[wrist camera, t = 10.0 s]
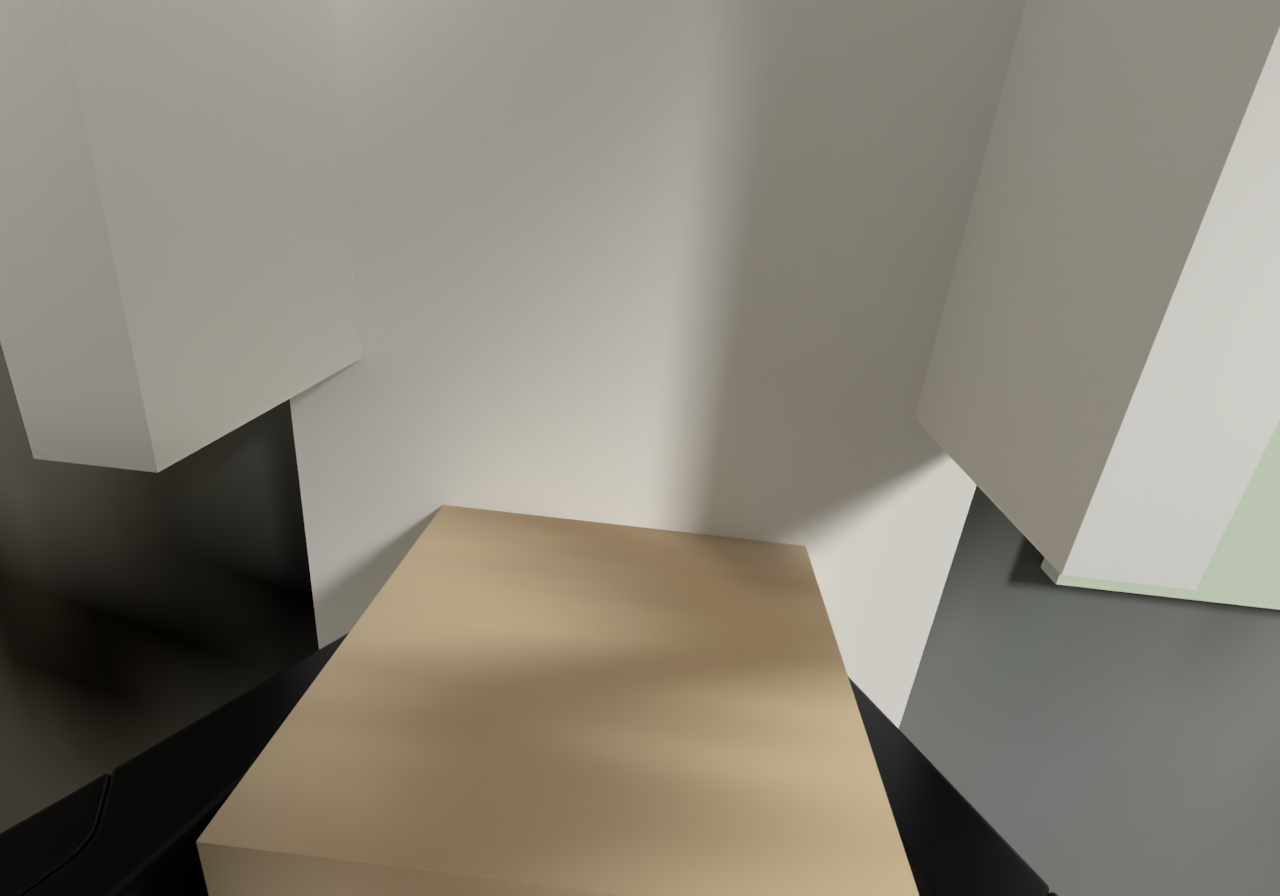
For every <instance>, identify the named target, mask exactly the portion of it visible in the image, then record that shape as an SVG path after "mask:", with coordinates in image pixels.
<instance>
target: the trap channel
mask: <svg viewBox="0 0 1280 896" xmlns="http://www.w3.org/2000/svg"><path fill="white" fill-rule="evenodd" d="M0 342H1V346H2V349H3V353H4V356H5V360H6V363H7V367H8V370H9V374H10V377H11V381H12V384H13V388H14V391H15V395H16V398H17V402H18V405H19V409H20V412H21V416H22V419H23V423H24V426H25V430H26V433H27V437H28V440H29V444H30V447H31V451H32V454H33V458H34V459H41V460H50V461H59V462H68V463H77V464H85V465H94V466H103V467H112V468H121V469H130V470H138V471H147V472H156V473H158V472H160V471H162V470H164V469H165V468H167V467H169V466H171V465H173V464H174V463H176V462H178V461H180V460H181V459H183V458H185V457H187V456H189V455H190V454H192V453H194V452H196V451H197V450H199V449H201V448H203V447H205V446H206V445H208V444H210V443H212V442H213V441H215V440H217V439H219V438H221V437H222V436H224V435H226V434H228V433H229V432H231V431H233V430H235V429H237V428H238V427H240V426H242V425H244V424H245V423H247V422H249V421H251V420H253V419H254V418H256V417H258V416H260V415H262V414H263V413H265V412H267V411H269V410H270V409H272V408H274V407H276V406H278V405H279V404H281V403H283V402H285V401H286V400H288V399H290V408H291V416H292V424H293V433H294V441H295V450H296V458H297V467H298V475H299V484H300V492H301V501H302V509H303V518H304V526H305V535H306V543H307V552H308V560H309V569H310V577H311V586H312V594H313V603H314V611H315V620H316V628H317V637H318V645H319V649H321V648H323V647H324V646H326V645H328V644H330V643H331V642H333V641H335V640H337V639H338V638H340V637H342V636H343V635H345V634H347V633H349V632H350V631H351V630H352V628H353V627H354V626H355V624H356V623H357V622H358V620H359V619H360V617H361V616H362V615H363V613H364V612H365V611H366V609H367V608H368V607H369V605H370V604H371V602H372V601H373V600H374V598H375V597H376V596H377V594H378V593H379V592H380V590H381V589H382V587H383V586H384V585H385V583H386V582H387V581H388V579H389V578H390V577H391V575H392V574H393V572H394V571H395V570H396V568H397V567H398V566H399V564H400V563H401V562H402V560H403V559H404V557H405V556H406V555H407V553H408V552H409V551H410V549H411V548H412V547H413V545H414V544H415V542H416V541H417V540H418V538H419V537H420V536H421V534H422V533H423V532H424V530H425V529H426V527H427V526H428V525H429V523H430V522H431V521H432V519H433V518H434V517H435V515H436V514H437V513H438V511H439V510H440V508H441V507H442V506H443V505H448V506H457V507H466V508H475V509H484V510H492V511H501V512H510V513H519V514H528V515H537V516H546V517H554V518H563V519H572V520H581V521H590V522H599V523H607V524H616V525H625V526H634V527H643V528H652V529H660V530H669V531H678V532H687V533H696V534H705V535H713V536H722V537H731V538H740V539H749V540H758V541H767V542H775V543H784V544H793V545H802V546H806V549H807V552H808V555H809V558H810V562H811V565H812V568H813V571H814V574H815V577H816V580H817V583H818V586H819V589H820V592H821V595H822V598H823V601H824V604H825V608H826V611H827V614H828V617H829V620H830V623H831V626H832V629H833V632H834V635H835V638H836V641H837V644H838V647H839V651H840V654H841V657H842V660H843V663H844V666H845V669H846V672H847V675H848V677H849V678H850V679H851V680H852V681H853V682H854V683H855V684H856V685H857V686H858V687H859V688H860V689H861V690H862V691H863V692H864V693H865V694H866V695H867V696H868V697H869V699H870V700H871V701H872V702H873V703H874V704H875V705H876V706H877V707H878V708H879V709H880V710H881V711H882V712H883V713H884V714H885V715H886V716H887V717H888V718H889V719H890V721H891V722H892V723H893V724H894V725H895V726H896V727H897V728H898V729H899V726H900V723H901V720H902V717H903V713H904V710H905V707H906V704H907V701H908V698H909V695H910V692H911V688H912V685H913V682H914V679H915V676H916V673H917V670H918V667H919V663H920V660H921V657H922V654H923V651H924V648H925V645H926V642H927V638H928V635H929V632H930V629H931V626H932V623H933V620H934V617H935V613H936V610H937V607H938V604H939V601H940V598H941V595H942V592H943V588H944V585H945V582H946V579H947V576H948V573H949V570H950V567H951V564H952V560H953V557H954V554H955V551H956V548H957V545H958V542H959V539H960V535H961V532H962V529H963V526H964V523H965V520H966V517H967V514H968V510H969V507H970V504H971V501H972V498H973V495H974V492H975V489H976V485H977V486H978V487H979V488H980V489H981V490H982V491H983V492H984V493H985V494H986V495H987V496H988V497H989V499H990V500H991V501H992V502H993V503H994V504H995V505H996V506H997V507H998V508H999V509H1000V510H1001V511H1002V512H1003V513H1004V515H1005V516H1006V517H1007V518H1008V519H1009V520H1010V521H1011V522H1012V523H1013V524H1014V525H1015V526H1016V527H1017V528H1018V529H1019V530H1020V532H1021V533H1022V534H1023V535H1024V536H1025V537H1026V538H1027V539H1028V540H1029V541H1030V542H1031V543H1032V544H1033V545H1034V546H1035V548H1036V549H1037V550H1038V551H1039V552H1040V553H1041V554H1042V555H1043V556H1044V557H1045V558H1046V559H1047V560H1048V561H1049V562H1050V563H1051V565H1052V566H1053V567H1054V568H1055V569H1056V570H1057V571H1058V572H1059V573H1060V574H1061V575H1066V576H1075V577H1083V578H1092V579H1101V580H1110V581H1119V582H1128V583H1136V584H1145V585H1154V586H1163V587H1172V588H1181V589H1189V590H1196V588H1197V586H1198V584H1199V582H1200V580H1201V578H1202V576H1203V574H1204V572H1205V570H1206V568H1207V566H1208V564H1209V562H1210V560H1211V558H1212V556H1213V554H1214V552H1215V550H1216V548H1217V546H1218V544H1219V542H1220V540H1221V538H1222V536H1223V534H1224V532H1225V530H1226V528H1227V525H1228V523H1229V521H1230V519H1231V517H1232V515H1233V513H1234V511H1235V509H1236V507H1237V505H1238V503H1239V501H1240V499H1241V497H1242V495H1243V493H1244V491H1245V489H1246V487H1247V485H1248V483H1249V481H1250V479H1251V477H1252V475H1253V473H1254V471H1255V469H1256V467H1257V465H1258V463H1259V461H1260V459H1261V457H1262V455H1263V453H1264V451H1265V449H1266V447H1267V445H1268V443H1269V441H1270V439H1271V437H1272V435H1273V433H1274V431H1275V429H1276V427H1277V425H1278V423H1279V421H1280V0H0Z"/></svg>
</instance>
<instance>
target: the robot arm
mask: <svg viewBox="0 0 1280 896" xmlns="http://www.w3.org/2000/svg"><path fill="white" fill-rule="evenodd" d="M348 634H349V633H347V634H345V635H343V636H342V637H340V638H338V639H337V640H335V641H333V642H331V643H330V644H328V645H326V646H324V647H323V648H321V649H319V650H318V651H316V652H314V653H312V654H311V655H309V656H307V657H306V658H304V659H302V660H300V661H299V662H297V663H295V664H294V665H292V666H290V667H288V668H287V669H285V670H283V671H282V672H280V673H278V674H276V675H275V676H273V677H271V678H269V679H268V680H266V681H264V682H263V683H261V684H259V685H257V686H256V687H254V688H252V689H251V690H249V691H247V692H245V693H244V694H242V695H240V696H239V697H237V698H235V699H233V700H232V701H230V702H228V703H227V704H225V705H223V706H221V707H220V708H218V709H216V710H215V711H213V712H211V713H209V714H208V715H206V716H204V717H202V718H201V719H199V720H197V721H196V722H194V723H192V724H190V725H189V726H187V727H185V728H184V729H182V730H180V731H178V732H177V733H175V734H173V735H172V736H170V737H168V738H166V739H165V740H163V741H161V742H160V743H158V744H156V745H154V746H153V747H151V748H149V749H147V750H146V751H144V752H142V753H141V754H139V755H137V756H135V757H134V758H132V759H130V760H129V761H127V762H125V763H123V764H122V765H120V766H118V767H117V768H115V769H114V770H113V771H112V774H111V775H109V774H104V775H102V776H101V777H99V778H97V779H95V780H94V781H92V782H90V783H89V784H87V785H85V786H83V787H82V788H80V789H78V790H77V791H75V792H73V793H71V794H70V795H68V796H66V797H65V798H63V799H61V800H59V801H57V802H56V803H54V804H52V805H50V806H48V807H47V808H45V809H43V810H41V811H40V812H38V813H36V814H34V815H32V816H31V817H29V818H27V819H25V820H24V821H22V822H20V823H18V824H16V825H15V826H13V827H11V828H9V829H8V830H6V831H4V832H2V833H0V896H209V894H208V890H207V886H206V882H205V878H204V874H203V869H202V865H201V861H200V857H199V853H198V848H197V844H196V841H197V840H198V838H199V837H200V835H201V834H202V833H203V831H204V830H205V829H206V827H207V826H208V825H209V823H210V822H211V820H212V819H213V818H214V816H215V815H216V814H217V812H218V811H219V810H220V808H221V807H222V805H223V804H224V803H225V801H226V800H227V799H228V797H229V796H230V795H231V793H232V792H233V790H234V789H235V788H236V786H237V785H238V784H239V782H240V781H241V780H242V778H243V777H244V775H245V774H246V773H247V771H248V770H249V769H250V767H251V766H252V765H253V763H254V762H255V760H256V759H257V758H258V756H259V755H260V754H261V752H262V751H263V750H264V748H265V747H266V746H267V744H268V743H269V741H270V740H271V739H272V737H273V736H274V735H275V733H276V732H277V731H278V729H279V728H280V726H281V725H282V724H283V722H284V721H285V720H286V718H287V717H288V716H289V714H290V713H291V711H292V710H293V709H294V707H295V706H296V705H297V703H298V702H299V701H300V699H301V698H302V696H303V695H304V694H305V692H306V691H307V690H308V688H309V687H310V686H311V684H312V683H313V681H314V680H315V679H316V677H317V676H318V675H319V673H320V672H321V671H322V669H323V668H324V666H325V665H326V664H327V662H328V661H329V660H330V658H331V657H332V656H333V654H334V653H335V651H336V650H337V649H338V647H339V646H340V645H341V643H342V642H343V641H344V639H345V638H346V637H347V635H348ZM848 678H849V677H848ZM849 681H850V684H851V687H852V690H853V693H854V697H855V700H856V703H857V706H858V709H859V712H860V715H861V718H862V721H863V724H864V727H865V730H866V733H867V736H868V740H869V743H870V746H871V749H872V752H873V755H874V758H875V761H876V764H877V767H878V770H879V773H880V776H881V779H882V782H883V786H884V789H885V792H886V795H887V798H888V801H889V804H890V807H891V810H892V813H893V816H894V819H895V822H896V825H897V829H898V832H899V835H900V838H901V841H902V844H903V847H904V850H905V853H906V856H907V859H908V862H909V865H910V868H911V871H912V875H913V878H914V881H915V884H916V887H917V890H918V893H919V896H1058V895H1057V894H1056V893H1054V892H1050V893H1049V887H1048V885H1047V884H1046V883H1045V882H1044V881H1043V880H1042V879H1041V878H1040V877H1039V876H1038V875H1037V873H1036V872H1035V871H1034V870H1033V869H1032V868H1031V867H1030V866H1029V865H1028V864H1027V863H1026V862H1025V861H1024V860H1023V859H1022V858H1021V857H1020V856H1019V855H1018V854H1017V853H1016V851H1015V850H1014V849H1013V848H1012V847H1011V846H1010V845H1009V844H1008V843H1007V842H1006V841H1005V840H1004V839H1003V838H1002V837H1001V836H1000V835H999V834H998V833H997V832H996V831H995V829H994V828H993V827H992V826H991V825H990V824H989V823H988V822H987V821H986V820H985V819H984V818H983V817H982V816H981V815H980V814H979V813H978V812H977V811H976V810H975V809H974V807H973V806H972V805H971V804H970V803H969V802H968V801H967V800H966V799H965V798H964V797H963V796H962V795H961V794H960V793H959V792H958V791H957V790H956V789H955V788H954V787H953V785H952V784H951V783H950V782H949V781H948V780H947V779H946V778H945V777H944V776H943V775H942V774H941V773H940V772H939V771H938V770H937V769H936V768H935V767H934V766H933V765H932V763H931V762H930V761H929V760H928V759H927V758H926V757H925V756H924V755H923V754H922V753H921V752H920V751H919V750H918V749H917V748H916V747H915V746H914V745H913V744H912V743H911V741H910V740H909V739H908V738H907V737H906V736H905V735H904V734H903V733H902V732H901V731H900V730H899V729H898V728H897V727H896V726H895V725H894V724H893V723H892V722H891V721H890V719H889V718H888V717H887V716H886V715H885V714H884V713H883V712H882V711H881V710H880V709H879V708H878V707H877V706H876V705H875V704H874V703H873V702H872V701H871V700H870V699H869V697H868V696H867V695H866V694H865V693H864V692H863V691H862V690H861V689H860V688H859V687H858V686H857V685H856V684H855V683H854V682H853V681H852V680H851V679H850V678H849ZM1048 893H1049V894H1048Z"/></svg>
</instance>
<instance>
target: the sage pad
mask: <svg viewBox="0 0 1280 896" xmlns="http://www.w3.org/2000/svg"><path fill="white" fill-rule="evenodd" d="M1040 568H1041V569H1042V570H1043V571H1044V572H1045V573H1046V574H1047V575H1048V576H1049V578H1050V579H1051V580H1052V581H1053V582H1054V583H1055V584H1057V585H1066V586H1074V587H1083V588H1092V589H1101V590H1110V591H1118V592H1127V593H1136V594H1145V595H1154V596H1162V597H1171V598H1180V599H1189V600H1198V601H1206V602H1215V603H1224V604H1233V605H1242V606H1250V607H1259V608H1268V609H1277V610H1280V421H1279V423H1278V425H1277V427H1276V429H1275V431H1274V433H1273V435H1272V437H1271V439H1270V441H1269V443H1268V445H1267V447H1266V449H1265V451H1264V453H1263V455H1262V457H1261V459H1260V461H1259V463H1258V465H1257V467H1256V469H1255V471H1254V473H1253V475H1252V477H1251V479H1250V481H1249V483H1248V485H1247V487H1246V489H1245V491H1244V493H1243V495H1242V497H1241V499H1240V501H1239V503H1238V505H1237V507H1236V509H1235V511H1234V513H1233V515H1232V517H1231V519H1230V521H1229V523H1228V525H1227V528H1226V530H1225V532H1224V534H1223V536H1222V538H1221V540H1220V542H1219V544H1218V546H1217V548H1216V550H1215V552H1214V554H1213V556H1212V558H1211V560H1210V562H1209V564H1208V566H1207V568H1206V570H1205V572H1204V574H1203V576H1202V578H1201V580H1200V582H1199V584H1198V586H1197V588H1196V590H1189V589H1181V588H1172V587H1163V586H1154V585H1145V584H1136V583H1128V582H1119V581H1110V580H1101V579H1092V578H1083V577H1075V576H1066V575H1061V574H1060V573H1059V572H1058V571H1057V570H1056V569H1055V568H1054V567H1053V566H1052V565H1051V563H1050V562H1049V561H1048V560H1047V559H1046V558H1045V557H1044V559H1043V562H1042V565H1041V567H1040Z"/></svg>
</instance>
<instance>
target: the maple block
mask: <svg viewBox="0 0 1280 896" xmlns="http://www.w3.org/2000/svg"><path fill="white" fill-rule="evenodd" d="M196 844H197V848H198V853H199V857H200V861H201V865H202V869H203V874H204V878H205V882H206V886H207V890H208V894H209V896H919V893H918V890H917V887H916V884H915V881H914V878H913V875H912V871H911V868H910V865H909V862H908V859H907V856H906V853H905V850H904V847H903V844H902V841H901V838H900V835H899V832H898V829H897V825H896V822H895V819H894V816H893V813H892V810H891V807H890V804H889V801H888V798H887V795H886V792H885V789H884V786H883V782H882V779H881V776H880V773H879V770H878V767H877V764H876V761H875V758H874V755H873V752H872V749H871V746H870V743H869V740H868V736H867V733H866V730H865V727H864V724H863V721H862V718H861V715H860V712H859V709H858V706H857V703H856V700H855V697H854V693H853V690H852V687H851V684H850V681H849V678H848V675H847V672H846V669H845V666H844V663H843V660H842V657H841V654H840V651H839V647H838V644H837V641H836V638H835V635H834V632H833V629H832V626H831V623H830V620H829V617H828V614H827V611H826V608H825V604H824V601H823V598H822V595H821V592H820V589H819V586H818V583H817V580H816V577H815V574H814V571H813V568H812V565H811V562H810V558H809V555H808V552H807V549H806V546H802V545H793V544H784V543H775V542H767V541H758V540H749V539H740V538H731V537H722V536H713V535H705V534H696V533H687V532H678V531H669V530H660V529H652V528H643V527H634V526H625V525H616V524H607V523H599V522H590V521H581V520H572V519H563V518H554V517H546V516H537V515H528V514H519V513H510V512H501V511H492V510H484V509H475V508H466V507H457V506H448V505H443V506H442V507H441V508H440V510H439V511H438V513H437V514H436V515H435V517H434V518H433V519H432V521H431V522H430V523H429V525H428V526H427V527H426V529H425V530H424V532H423V533H422V534H421V536H420V537H419V538H418V540H417V541H416V542H415V544H414V545H413V547H412V548H411V549H410V551H409V552H408V553H407V555H406V556H405V557H404V559H403V560H402V562H401V563H400V564H399V566H398V567H397V568H396V570H395V571H394V572H393V574H392V575H391V577H390V578H389V579H388V581H387V582H386V583H385V585H384V586H383V587H382V589H381V590H380V592H379V593H378V594H377V596H376V597H375V598H374V600H373V601H372V602H371V604H370V605H369V607H368V608H367V609H366V611H365V612H364V613H363V615H362V616H361V617H360V619H359V620H358V622H357V623H356V624H355V626H354V627H353V628H352V630H351V631H350V632H349V634H348V635H347V637H346V638H345V639H344V641H343V642H342V643H341V645H340V646H339V647H338V649H337V650H336V651H335V653H334V654H333V656H332V657H331V658H330V660H329V661H328V662H327V664H326V665H325V666H324V668H323V669H322V671H321V672H320V673H319V675H318V676H317V677H316V679H315V680H314V681H313V683H312V684H311V686H310V687H309V688H308V690H307V691H306V692H305V694H304V695H303V696H302V698H301V699H300V701H299V702H298V703H297V705H296V706H295V707H294V709H293V710H292V711H291V713H290V714H289V716H288V717H287V718H286V720H285V721H284V722H283V724H282V725H281V726H280V728H279V729H278V731H277V732H276V733H275V735H274V736H273V737H272V739H271V740H270V741H269V743H268V744H267V746H266V747H265V748H264V750H263V751H262V752H261V754H260V755H259V756H258V758H257V759H256V760H255V762H254V763H253V765H252V766H251V767H250V769H249V770H248V771H247V773H246V774H245V775H244V777H243V778H242V780H241V781H240V782H239V784H238V785H237V786H236V788H235V789H234V790H233V792H232V793H231V795H230V796H229V797H228V799H227V800H226V801H225V803H224V804H223V805H222V807H221V808H220V810H219V811H218V812H217V814H216V815H215V816H214V818H213V819H212V820H211V822H210V823H209V825H208V826H207V827H206V829H205V830H204V831H203V833H202V834H201V835H200V837H199V838H198V840H197V841H196Z"/></svg>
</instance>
